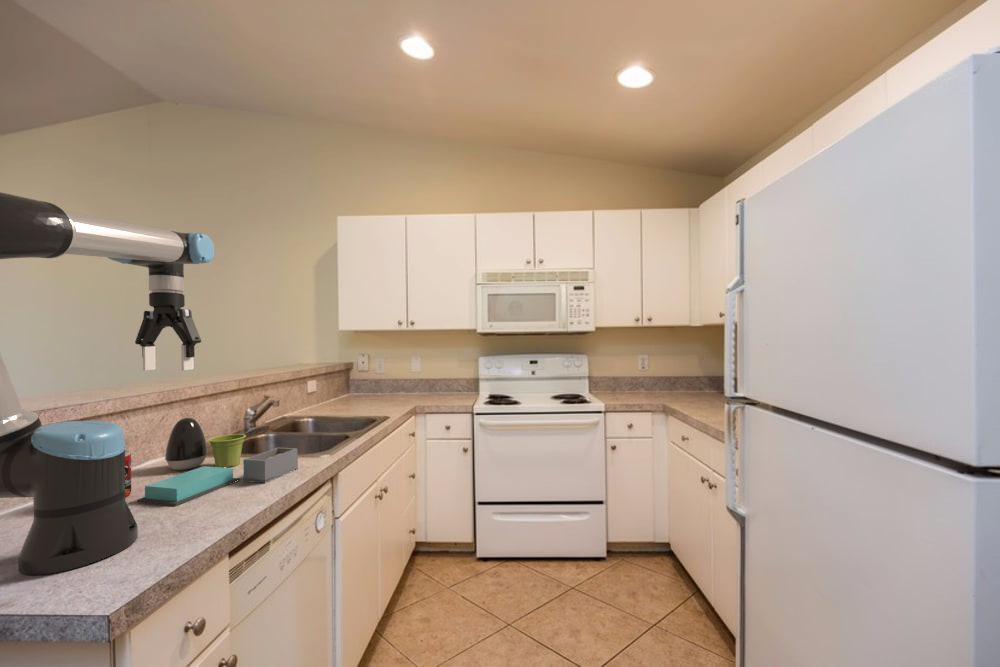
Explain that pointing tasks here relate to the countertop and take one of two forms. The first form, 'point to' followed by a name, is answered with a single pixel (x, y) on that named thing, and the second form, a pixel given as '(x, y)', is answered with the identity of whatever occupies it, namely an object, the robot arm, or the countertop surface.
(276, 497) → the countertop surface
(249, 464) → the storage box
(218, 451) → the plant pot
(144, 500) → the mat
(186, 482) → the lid
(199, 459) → the black egg-shaped piece
